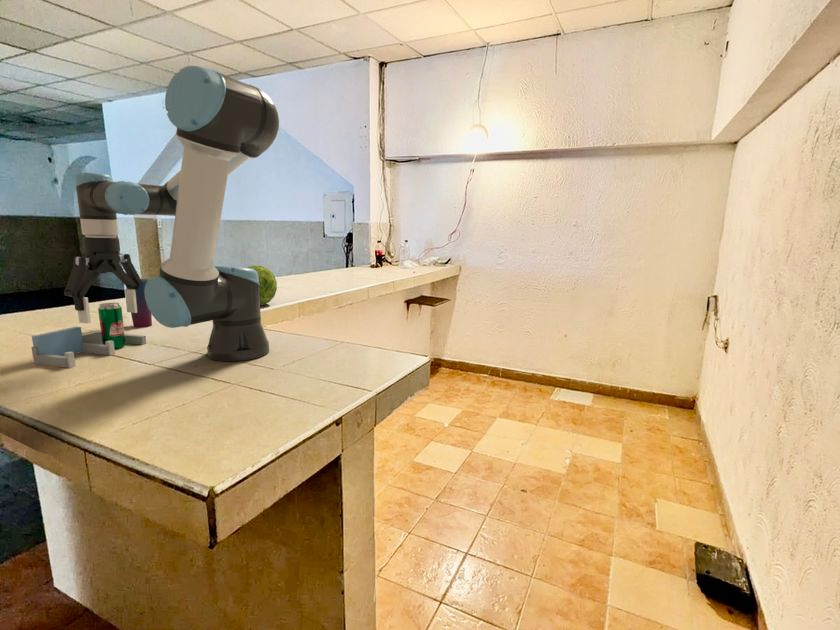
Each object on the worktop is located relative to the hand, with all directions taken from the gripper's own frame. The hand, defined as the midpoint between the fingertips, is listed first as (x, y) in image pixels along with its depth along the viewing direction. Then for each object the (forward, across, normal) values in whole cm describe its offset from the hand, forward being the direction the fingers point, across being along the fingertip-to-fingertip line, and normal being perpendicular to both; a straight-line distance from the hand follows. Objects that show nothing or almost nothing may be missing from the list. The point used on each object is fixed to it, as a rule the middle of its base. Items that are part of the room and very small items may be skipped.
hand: (110, 317), depth 113 cm
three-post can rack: (+8, +5, 0) cm, 10 cm away
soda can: (+8, 0, +1) cm, 9 cm away
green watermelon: (+9, -69, -4) cm, 69 cm away
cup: (+9, -22, -12) cm, 27 cm away
